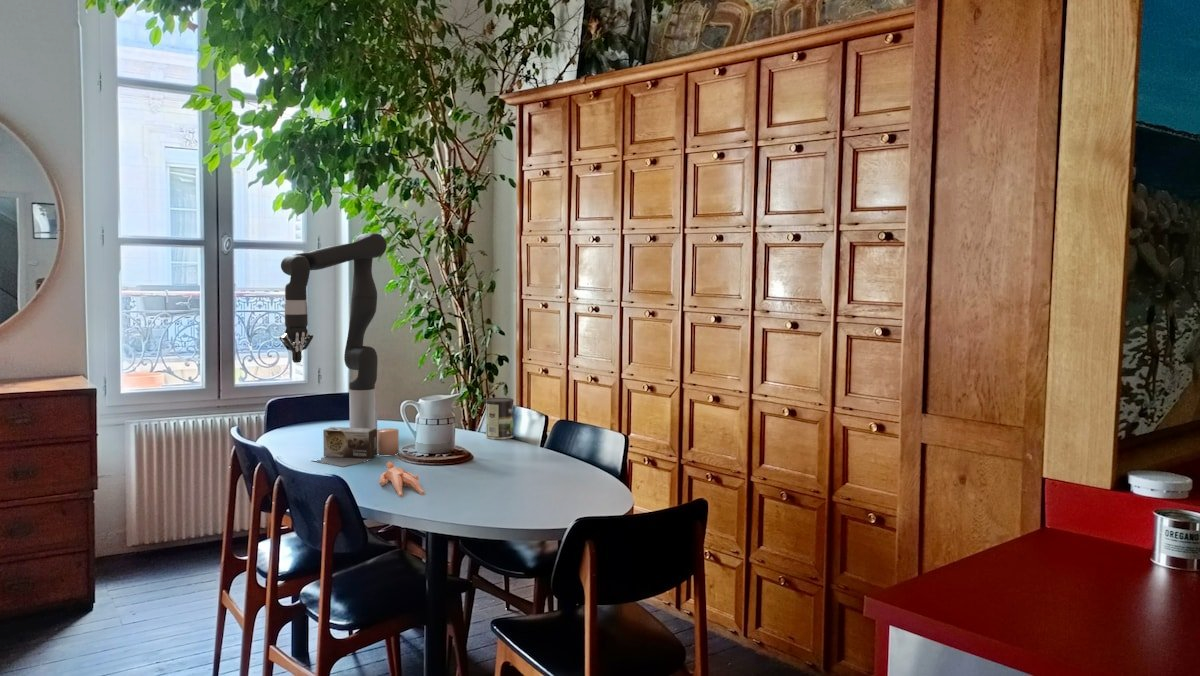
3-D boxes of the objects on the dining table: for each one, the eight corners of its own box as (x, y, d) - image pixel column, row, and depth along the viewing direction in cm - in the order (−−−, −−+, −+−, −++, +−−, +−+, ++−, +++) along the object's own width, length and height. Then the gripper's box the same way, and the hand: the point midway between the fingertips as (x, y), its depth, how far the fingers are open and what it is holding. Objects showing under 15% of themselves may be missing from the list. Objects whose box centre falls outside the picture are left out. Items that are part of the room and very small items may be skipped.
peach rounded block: (388, 450, 296) (388, 427, 295) (403, 453, 292) (402, 429, 292) (372, 454, 290) (372, 430, 289) (387, 456, 286) (387, 433, 286)
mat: (340, 454, 289) (340, 453, 289) (371, 460, 281) (371, 459, 281) (311, 461, 279) (311, 460, 279) (343, 467, 271) (342, 466, 271)
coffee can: (514, 434, 327) (515, 397, 326) (511, 439, 317) (511, 401, 316) (487, 434, 327) (487, 397, 326) (483, 439, 317) (483, 401, 316)
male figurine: (393, 487, 236) (371, 461, 257) (392, 504, 237) (370, 477, 258) (431, 483, 241) (406, 457, 262) (431, 500, 242) (406, 473, 263)
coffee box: (331, 452, 290) (377, 455, 288) (322, 456, 284) (369, 459, 281) (331, 425, 289) (377, 428, 287) (323, 429, 283) (369, 432, 281)
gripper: (287, 314, 294) (288, 364, 295) (318, 312, 305) (319, 361, 306) (273, 313, 298) (274, 363, 299) (304, 311, 309) (305, 360, 310)
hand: (297, 362), depth 303 cm, fingers closed
